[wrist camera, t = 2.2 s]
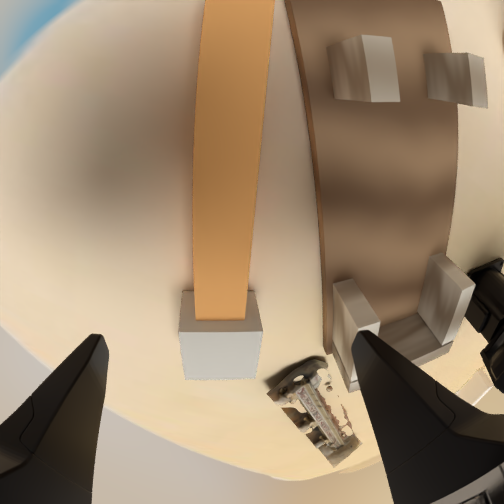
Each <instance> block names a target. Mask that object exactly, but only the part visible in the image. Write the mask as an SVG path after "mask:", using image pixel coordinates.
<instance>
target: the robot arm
mask: <svg viewBox="0 0 504 504" xmlns="http://www.w3.org/2000/svg"><path fill="white" fill-rule="evenodd" d="M503 263H504V260H503V259H502V258H500V259H497V260H495V261H493V262H491V263H488V264H486V265H484V266H481V267H479V268H477V269H474V270H472V271H470V272H469V274H468V277H469V278H470V279H471V280H472V281H473V282H474V283H475V284H476V285H475V288H474V291H473V293H472V296H471V299H470V302H469V305H468V307H467V310H466V313H465V315H464V316H465V317H466V319H467V320H468V321H469V322H470V323H471V325H472V326H473V327H474V328H475V330H476V331H477V332H478V333H481V334H482V335H483V336H484V338H485V339H486V340H487V342H488V345H487V346H486V347H485V348H484V349H483V350H482V351H481V352H480V354H481V356H482V358H483V362H484V364H485V366H486V368H487V370H488V372H489V375H490V377H491V379H492V381H493V383H494V386H495V387H496V388H497V389H499V390H500V391H501V392H502V393H504V274H502V273H501V269H502V266H503ZM351 353H352V357H353V361H354V366H355V370H356V375H357V379H358V383H359V387H360V390H361V393H362V396H363V399H364V402H365V405H366V408H367V411H368V414H369V418H370V421H371V424H372V427H373V430H374V434H375V437H376V440H377V443H378V447H379V450H380V454H381V457H382V461H383V464H384V467H385V471H386V474H387V479H388V483H389V487H390V490H391V494H392V498H393V501H394V504H504V414H499V415H498V414H497V415H496V414H495V415H494V414H487V413H485V412H482V411H480V410H479V409H477V408H475V407H474V406H472V405H471V404H469V403H468V402H466V401H464V400H463V399H461V398H460V397H458V396H457V395H455V394H454V393H452V392H451V391H449V390H448V389H447V388H445V387H444V386H443V385H441V384H440V383H439V382H437V381H435V379H433V378H432V377H431V376H429V375H428V374H427V373H425V372H424V371H423V370H421V369H420V368H419V367H418V366H416V365H415V364H414V363H412V362H411V361H410V360H408V359H407V358H406V357H404V356H403V355H402V354H400V353H399V352H398V351H396V350H395V349H394V348H392V347H391V346H390V345H389V344H387V343H386V342H385V341H383V340H382V339H381V338H379V337H378V336H377V335H375V334H374V333H373V332H371V331H370V330H360V331H358V332H357V334H356V336H355V339H354V341H353V343H352V346H351ZM108 361H109V350H108V347H107V345H106V342H105V339H104V337H103V335H101V334H90V335H89V336H88V337H87V338H86V339H85V340H84V341H83V342H82V343H81V344H80V345H79V346H78V347H77V348H76V349H75V350H74V351H73V352H72V353H71V354H70V355H69V356H68V357H67V358H66V359H65V360H64V361H63V362H62V363H61V364H60V365H59V366H58V367H57V368H56V369H55V370H54V371H53V372H52V373H51V374H50V375H49V376H48V377H47V378H46V379H45V381H43V383H42V384H41V385H40V386H39V387H38V388H37V389H36V390H35V391H34V392H33V393H32V395H31V396H29V397H28V398H27V399H26V401H25V402H24V403H23V404H22V405H21V406H20V407H19V408H18V409H17V410H16V411H15V412H14V413H13V414H12V415H11V416H9V418H7V419H6V420H5V421H4V422H3V423H2V424H1V425H0V504H91V503H92V486H93V474H94V464H95V456H96V448H97V440H98V433H99V427H100V421H101V415H102V409H103V404H104V398H105V392H106V381H107V370H108Z"/></svg>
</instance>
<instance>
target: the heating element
mask: <svg viewBox="0 0 504 504" xmlns="http://www.w3.org/2000/svg"><path fill="white" fill-rule="evenodd" d="M320 368H324V369H326V370H327V368H328V364H327V363H324V362H323V361H319V360H316V359H313V360H310V361H307V362H306V363H304V364H303V365H301V366H300V367H298V368H296V369H295V370H293V371H292V372H291V373H290V374H289V375H287V376H286V377H285V378H284V379H283V380H282V381H281V382H280V383H279V384H278V385H277V386H276V387H274V388H273V389H272V390H270V391H269V392H268V393H267V395H268V396H269V397H270V398H271V399H272V400H273V401H274V402H275V404H276V405H284V404H286V403H287V402H290V403H291V404H293V403H294V402H296V400H297V399H299V401H300V402H301V404H302V405H303V407H304V408H305V410H306V411H307V412H306V413H300V412H299V411H298V410H297V409H295V408H282V410H283V411H284V412H285V413H286V414H287V416H288V417H289V418H290V419H291V420H292V421H293V422H294V424H295V425H296V426H297V428H298V429H299V430H300V431H301V432H305V431H307V430H308V429H309V428H312V429H313V430H312V432H311V433H308V434H306V436H307V437H308V438H309V439H310V440H311V442H312V443H313V444H314V446H315V447H316V448H319V450H320V451H321V452H322V453H323V455H324V456H325V457H326V459H327V460H328V461H329V462H330V463H331V465H332V466H333V467H335V466H337V465H338V464H339V463H340V462H341V461H343V460H344V459H345V458H346V457H348V456H349V455H350V454H351V453H352V452H353V451H354V450H355V449H357V448H358V447H359V446H360V445H361V444H362V442H361V441H360V440H359V439H358V438H357V437H356V436H355V435H354V433H353V435H351V436H347V435H346V434H345V432H344V431H341V429H342V428H343V427H344V426H346V425H348V426H349V427H350V428H351V429H352V426H351V424H350V422H349V420H348V417H347V413H346V411H345V410H344V408H343V406H342V404H341V406H342V408H343V410H344V414H345V419H347V420H348V422H347V424H346V425H344V426H339V425H338V424H339V420H337V419H336V417H334V416H333V414H332V413H331V407H330V406H329V405H326V402H325V399H324V398H323V397H322V396H321V395H320V393H319V391H318V390H317V387H318V386H319V384H320V381H321V380H322V379H321V377H320V376H319V375H318V374H317V370H318V369H320ZM327 371H328V370H327ZM300 375H303V376H304V377H303V378H302V380H301V381H300V382H297V383H295V382H293V380H294V378H296V377H297V376H300ZM328 378H330V379H331V376H330V375H329V374H328ZM332 389H333V388H332V387H331V386H328V387H327V389H326V390H327V391H328V392H330V391H332ZM338 397H339V396H338ZM352 431H353V430H352ZM343 434H345V437H343V436H342V435H343ZM324 443H325V444H324ZM323 444H324V445H323Z"/></svg>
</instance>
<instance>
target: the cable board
mask: <svg viewBox="0 0 504 504" xmlns="http://www.w3.org/2000/svg"><path fill="white" fill-rule="evenodd" d="M285 4H286V8H287V13H288V17H289V22H290V26H291V31H292V35H293V40H294V45H295V50H296V55H297V61H298V66H299V72H300V77H301V83H302V89H303V95H304V101H305V108H306V115H307V121H308V129H309V136H310V144H311V152H312V160H313V169H314V178H315V188H316V199H317V210H318V222H319V236H320V251H321V270H322V294H323V347H324V350H325V352H326V355H328V354H332V353H333V356H334V358H335V360H336V363H337V365H338V368H339V370H340V373H341V375H342V378H343V380H344V383H345V385H346V388H347V390H348V393H351V392H354V391H357V390H360V387H359V383H358V379H357V375H356V370H355V366H354V361H353V357H352V353H351V346H352V343H353V341H354V339H355V336H356V334H357V332H358V331H360V330H370V331H371V332H373V333H374V334H375V335H377V336H378V337H379V338H381V339H382V340H383V341H385V342H386V343H387V344H389V345H390V346H391V347H392V348H394V349H395V350H396V351H398V352H399V353H400V354H402V355H403V356H404V357H406V358H407V359H408V360H410V361H411V362H412V363H414V364H415V365H416V366H421V365H423V364H425V363H427V362H429V361H432V360H434V359H436V358H438V357H440V356H442V355H444V354H446V353H448V352H449V350H450V348H451V346H452V343H453V340H454V339H455V337H456V334H457V332H458V330H459V327H460V325H461V323H462V320H463V318H464V315H465V313H466V310H467V307H468V305H469V302H470V299H471V296H472V293H473V291H474V288H475V285H476V284H475V283H474V282H473V281H472V280H471V279H470V278H469V277H468V276H467V275H466V274H465V273H464V272H463V271H462V270H461V269H460V268H459V267H457V266H456V265H455V264H454V263H453V262H452V261H451V260H450V259H449V258H448V257H447V256H446V250H447V245H448V240H449V234H450V228H451V221H452V214H453V207H454V198H455V188H456V177H457V160H458V108H457V103H459V104H464V105H468V106H473V107H481V108H488V100H487V85H486V74H485V66H484V58H482V57H479V56H476V55H473V54H469V53H452V50H451V44H450V38H449V33H448V28H447V23H446V19H445V15H444V11H443V7H442V3H441V2H440V1H437V0H285Z"/></svg>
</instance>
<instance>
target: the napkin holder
mask: <svg viewBox="0 0 504 504" xmlns="http://www.w3.org/2000/svg"><path fill="white" fill-rule="evenodd" d="M492 386H493V384H492V383H491V381H490V379H489V378H488V376H487V375H486V373H485V372H484V370H483V369H479V370H477V371H476V372H475V373H474V374H473V375H472V376H471V378H470V379H469V380H468V381H467V382H466V383H465V384H464V385H463V386H462V387H461V389H460V390H459V391H456V392H455V393H454V394H455V395H457V396H458V397H460V398H461V399H463V400H464V401H466V402H468V403H469V404H471V405H472V406H474V405H475V404H476V403H477V402H478V401H479V400H480V399H481V398H482V397H483V396H484V395H485V394H486V393H487V392H488V391H489V390H490V389H491V387H492Z"/></svg>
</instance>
